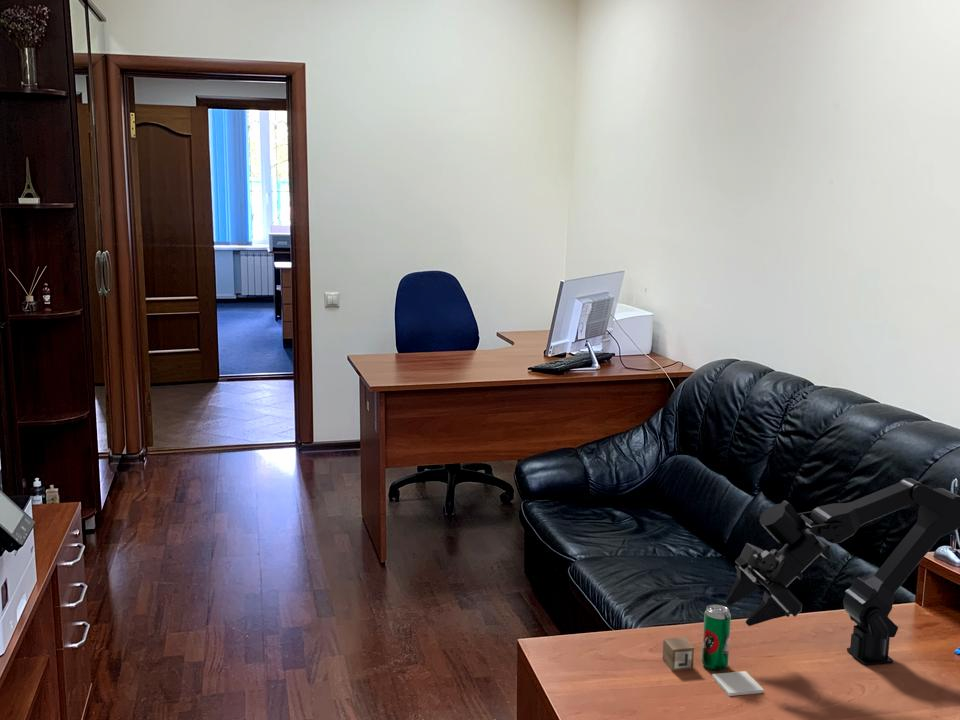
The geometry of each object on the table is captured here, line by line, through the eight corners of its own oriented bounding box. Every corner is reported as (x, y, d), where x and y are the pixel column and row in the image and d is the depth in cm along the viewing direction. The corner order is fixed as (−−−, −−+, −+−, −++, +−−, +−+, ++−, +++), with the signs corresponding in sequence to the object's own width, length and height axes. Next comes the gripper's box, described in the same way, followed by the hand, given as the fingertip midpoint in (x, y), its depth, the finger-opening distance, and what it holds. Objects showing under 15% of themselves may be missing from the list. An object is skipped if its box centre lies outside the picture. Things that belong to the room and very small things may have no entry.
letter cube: (683, 658, 178) (684, 637, 177) (693, 670, 173) (694, 648, 172) (662, 660, 177) (663, 639, 176) (672, 672, 172) (673, 650, 171)
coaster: (745, 673, 171) (745, 671, 171) (763, 692, 165) (763, 689, 165) (712, 677, 170) (712, 674, 170) (729, 696, 163) (729, 693, 163)
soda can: (728, 673, 172) (732, 615, 170) (702, 670, 173) (705, 613, 171) (726, 661, 176) (730, 604, 175) (701, 658, 177) (704, 602, 176)
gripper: (747, 516, 181) (692, 569, 181) (791, 549, 162) (731, 608, 163) (780, 551, 183) (726, 603, 183) (827, 587, 165) (768, 645, 165)
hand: (736, 613), depth 173 cm, fingers open, 9 cm apart
